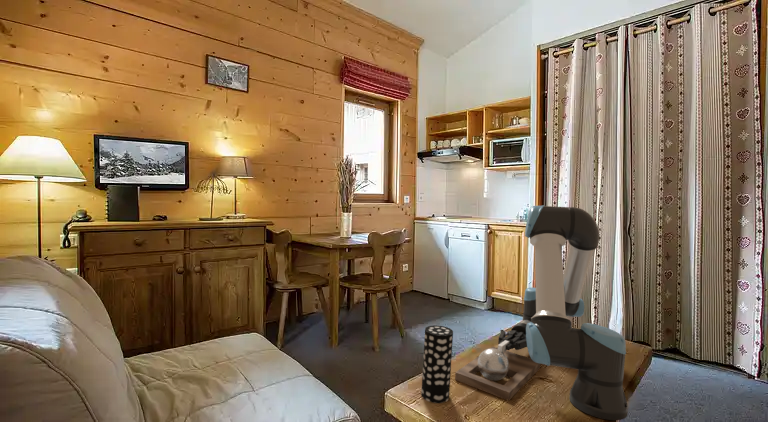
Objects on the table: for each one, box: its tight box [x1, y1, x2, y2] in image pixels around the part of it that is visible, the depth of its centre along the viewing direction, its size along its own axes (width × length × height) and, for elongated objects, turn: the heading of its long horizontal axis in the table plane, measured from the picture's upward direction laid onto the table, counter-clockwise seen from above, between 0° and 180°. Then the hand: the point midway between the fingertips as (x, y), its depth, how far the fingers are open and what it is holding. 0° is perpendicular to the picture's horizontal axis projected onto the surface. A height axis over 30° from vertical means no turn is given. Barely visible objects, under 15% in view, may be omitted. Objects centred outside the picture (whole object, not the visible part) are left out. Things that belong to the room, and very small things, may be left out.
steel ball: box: [478, 347, 509, 382], centre depth 127 cm, size 10×10×10 cm
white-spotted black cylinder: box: [420, 324, 454, 404], centre depth 114 cm, size 8×8×20 cm
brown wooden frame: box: [454, 346, 541, 401], centre depth 131 cm, size 30×18×2 cm, turn 141°
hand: (499, 349), depth 131 cm, fingers closed
